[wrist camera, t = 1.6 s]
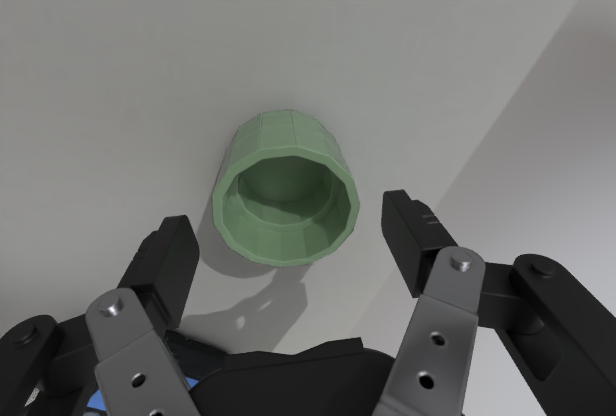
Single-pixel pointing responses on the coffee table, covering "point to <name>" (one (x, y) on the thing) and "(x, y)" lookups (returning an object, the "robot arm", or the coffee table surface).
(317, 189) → the bowl
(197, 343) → the game console
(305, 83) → the coffee table surface
